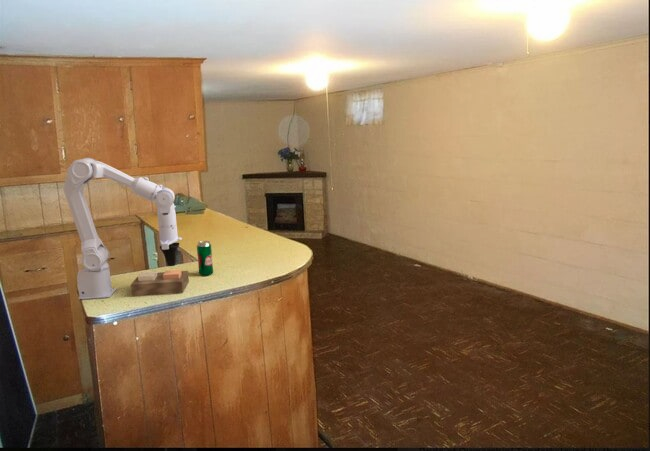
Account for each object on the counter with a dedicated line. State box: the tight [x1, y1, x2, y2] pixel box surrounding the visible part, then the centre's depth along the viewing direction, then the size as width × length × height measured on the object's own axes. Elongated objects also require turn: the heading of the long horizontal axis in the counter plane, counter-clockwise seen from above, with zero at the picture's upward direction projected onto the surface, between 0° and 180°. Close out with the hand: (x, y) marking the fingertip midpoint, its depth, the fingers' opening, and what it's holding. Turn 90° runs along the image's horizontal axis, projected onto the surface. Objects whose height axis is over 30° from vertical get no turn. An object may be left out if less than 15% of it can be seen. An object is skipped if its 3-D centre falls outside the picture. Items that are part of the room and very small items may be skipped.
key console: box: [130, 270, 190, 297], centre depth 166 cm, size 16×12×4 cm
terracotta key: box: [163, 269, 182, 280], centre depth 166 cm, size 5×5×2 cm
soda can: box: [196, 240, 214, 277], centre depth 181 cm, size 5×5×12 cm
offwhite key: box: [137, 270, 158, 281], centre depth 166 cm, size 5×5×2 cm
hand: (171, 265), depth 166 cm, fingers closed
